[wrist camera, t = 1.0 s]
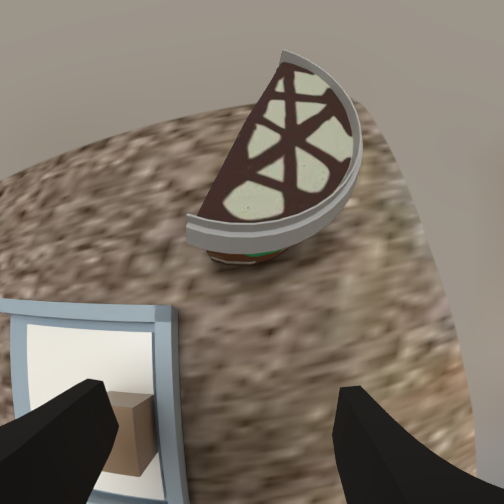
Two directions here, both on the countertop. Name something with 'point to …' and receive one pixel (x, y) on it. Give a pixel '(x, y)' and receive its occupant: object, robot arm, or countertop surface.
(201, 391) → the countertop surface
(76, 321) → the open box
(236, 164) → the food container
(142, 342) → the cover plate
